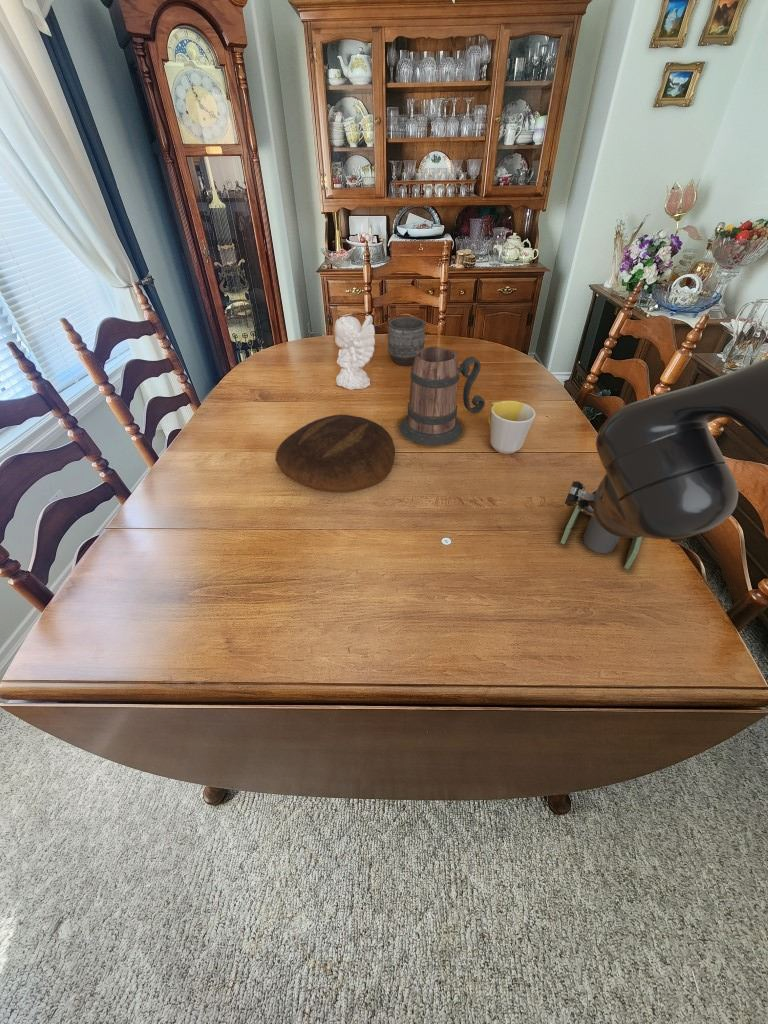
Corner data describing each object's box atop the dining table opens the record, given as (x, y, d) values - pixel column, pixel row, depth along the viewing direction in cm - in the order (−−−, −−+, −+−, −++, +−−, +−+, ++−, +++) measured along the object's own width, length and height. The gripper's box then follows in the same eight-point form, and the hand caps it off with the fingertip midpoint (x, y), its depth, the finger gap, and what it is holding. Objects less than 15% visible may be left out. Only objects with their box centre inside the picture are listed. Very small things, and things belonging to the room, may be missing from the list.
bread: (417, 452, 106) (418, 421, 100) (351, 514, 89) (349, 481, 84) (328, 420, 118) (324, 391, 112) (255, 470, 101) (247, 438, 95)
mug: (532, 457, 104) (543, 419, 97) (492, 461, 103) (499, 423, 96) (512, 428, 114) (520, 392, 107) (475, 431, 113) (481, 395, 106)
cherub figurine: (336, 372, 141) (331, 308, 128) (374, 371, 142) (372, 307, 128) (335, 391, 131) (329, 323, 118) (376, 389, 132) (374, 322, 118)
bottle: (619, 554, 81) (652, 492, 71) (588, 553, 81) (616, 492, 71) (608, 532, 85) (637, 471, 75) (578, 531, 85) (603, 471, 75)
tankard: (414, 450, 107) (417, 374, 93) (390, 418, 119) (390, 346, 105) (496, 433, 113) (510, 358, 99) (466, 404, 124) (475, 334, 111)
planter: (430, 360, 148) (432, 321, 139) (408, 371, 141) (409, 332, 133) (403, 351, 154) (404, 314, 145) (380, 361, 147) (380, 323, 139)
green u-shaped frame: (639, 531, 85) (649, 514, 82) (628, 569, 78) (638, 553, 75) (576, 508, 90) (582, 492, 87) (560, 543, 83) (566, 526, 80)
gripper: (723, 491, 43) (685, 511, 58) (579, 449, 49) (577, 477, 64) (693, 559, 44) (662, 562, 58) (554, 509, 50) (558, 523, 64)
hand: (618, 518), depth 61 cm, fingers open, 8 cm apart
